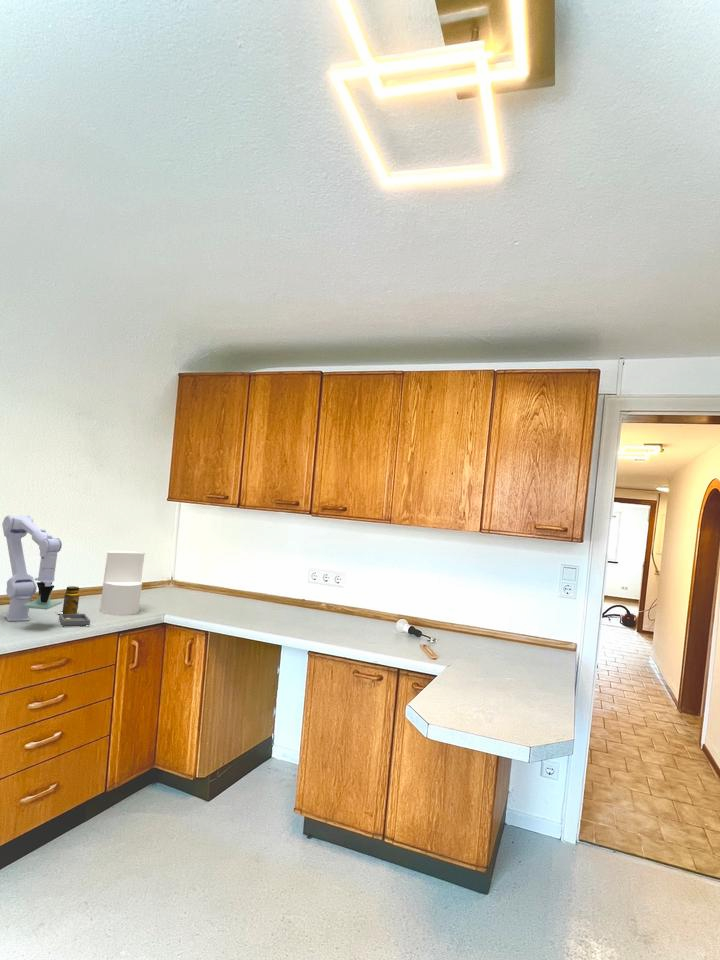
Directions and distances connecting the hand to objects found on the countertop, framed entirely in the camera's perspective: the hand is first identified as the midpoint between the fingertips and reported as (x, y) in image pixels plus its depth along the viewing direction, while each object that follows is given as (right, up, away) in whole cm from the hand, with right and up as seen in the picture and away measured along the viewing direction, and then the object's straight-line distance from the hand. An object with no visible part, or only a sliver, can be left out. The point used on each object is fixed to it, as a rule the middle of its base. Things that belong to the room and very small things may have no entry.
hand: (43, 601), depth 228 cm
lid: (0, -2, 0) cm, 2 cm away
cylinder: (+13, -14, +41) cm, 45 cm away
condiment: (-3, -11, +25) cm, 28 cm away
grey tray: (+7, -12, +10) cm, 17 cm away
